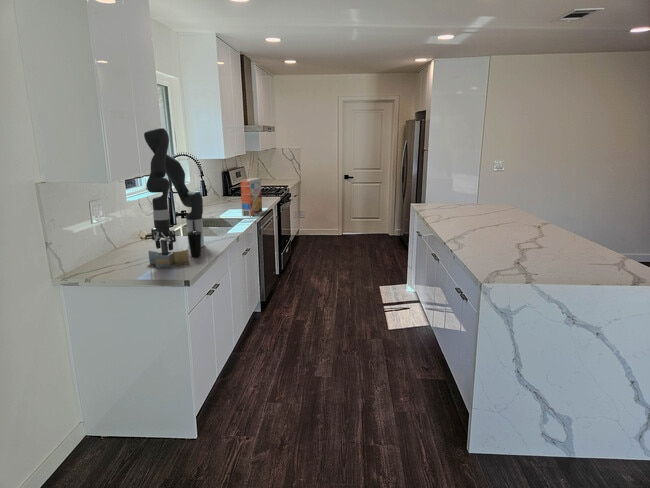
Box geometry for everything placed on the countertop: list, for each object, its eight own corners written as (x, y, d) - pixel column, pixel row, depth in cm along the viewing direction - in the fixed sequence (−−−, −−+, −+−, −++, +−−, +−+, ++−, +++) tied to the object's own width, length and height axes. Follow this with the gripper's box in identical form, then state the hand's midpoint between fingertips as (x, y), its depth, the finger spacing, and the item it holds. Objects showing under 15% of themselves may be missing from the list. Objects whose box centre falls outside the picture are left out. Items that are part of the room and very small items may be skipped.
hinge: (153, 261, 228) (152, 248, 226) (189, 262, 226) (188, 249, 224) (142, 267, 217) (141, 254, 215) (180, 268, 215) (179, 255, 213)
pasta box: (251, 217, 353) (249, 180, 345) (242, 216, 355) (240, 180, 347) (262, 212, 374) (260, 178, 367) (253, 211, 376) (252, 177, 369)
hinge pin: (165, 265, 221) (162, 239, 217) (170, 265, 221) (168, 239, 217) (162, 267, 218) (159, 240, 214) (167, 267, 217) (165, 240, 214)
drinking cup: (205, 256, 237) (203, 221, 232) (193, 259, 231) (190, 223, 226) (198, 254, 242) (195, 219, 237) (186, 256, 236) (183, 221, 231)
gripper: (145, 218, 213) (148, 249, 217) (166, 220, 207) (169, 252, 211) (157, 215, 219) (160, 246, 223) (177, 218, 213) (180, 249, 217)
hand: (164, 249), depth 217 cm, fingers open, 8 cm apart
